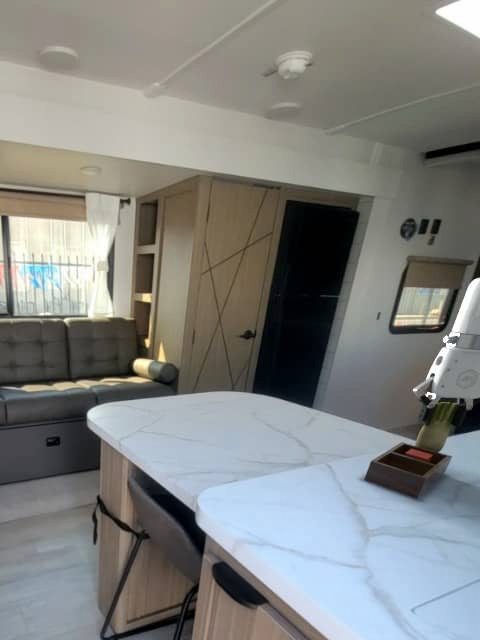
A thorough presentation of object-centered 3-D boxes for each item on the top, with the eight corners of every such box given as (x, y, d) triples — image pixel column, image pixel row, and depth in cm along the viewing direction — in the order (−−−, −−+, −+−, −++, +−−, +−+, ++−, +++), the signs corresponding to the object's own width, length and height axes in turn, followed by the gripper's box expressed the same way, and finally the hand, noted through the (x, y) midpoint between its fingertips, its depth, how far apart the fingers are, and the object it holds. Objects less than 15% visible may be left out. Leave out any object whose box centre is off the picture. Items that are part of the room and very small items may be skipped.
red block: (405, 464, 93) (411, 448, 91) (425, 471, 90) (433, 454, 88) (398, 469, 90) (405, 452, 89) (420, 475, 87) (427, 459, 86)
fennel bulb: (440, 450, 96) (459, 400, 90) (445, 457, 92) (465, 406, 87) (410, 445, 98) (427, 397, 93) (413, 453, 94) (432, 403, 89)
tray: (394, 459, 96) (401, 441, 94) (444, 474, 90) (452, 456, 88) (363, 480, 86) (370, 460, 84) (416, 499, 79) (425, 478, 77)
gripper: (438, 344, 82) (408, 428, 89) (531, 346, 80) (491, 432, 88) (416, 338, 88) (389, 417, 96) (500, 340, 87) (466, 420, 95)
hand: (438, 423), depth 92 cm, fingers closed on fennel bulb, 5 cm apart
